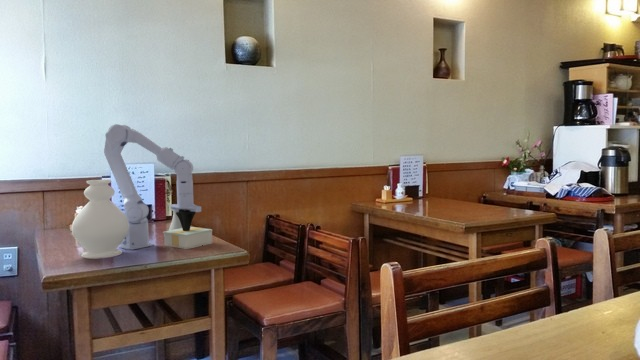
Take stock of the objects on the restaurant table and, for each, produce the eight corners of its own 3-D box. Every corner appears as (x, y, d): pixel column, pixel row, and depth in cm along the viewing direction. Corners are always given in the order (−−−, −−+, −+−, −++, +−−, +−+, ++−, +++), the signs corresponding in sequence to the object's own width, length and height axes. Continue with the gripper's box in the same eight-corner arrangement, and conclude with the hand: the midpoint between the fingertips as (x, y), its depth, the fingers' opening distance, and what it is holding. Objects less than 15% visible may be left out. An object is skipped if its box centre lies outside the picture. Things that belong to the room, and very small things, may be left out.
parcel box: (186, 249, 182) (186, 236, 182) (164, 245, 189) (163, 233, 189) (212, 243, 192) (211, 231, 192) (190, 240, 199) (189, 228, 199)
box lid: (185, 236, 181) (185, 234, 181) (162, 233, 189) (162, 231, 188) (212, 231, 192) (212, 229, 192) (189, 228, 199) (189, 226, 199)
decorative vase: (113, 247, 188) (110, 177, 186) (140, 253, 177) (137, 179, 175) (63, 255, 174) (59, 181, 172) (89, 263, 163) (85, 183, 161)
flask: (175, 235, 210) (174, 210, 209) (164, 233, 214) (163, 209, 214) (190, 232, 216) (189, 208, 215) (179, 231, 220) (178, 207, 219)
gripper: (207, 193, 188) (208, 230, 189) (180, 191, 196) (181, 227, 197) (192, 195, 182) (193, 233, 183) (165, 193, 190) (166, 230, 191)
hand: (186, 230), depth 189 cm, fingers closed, pressing on box lid
